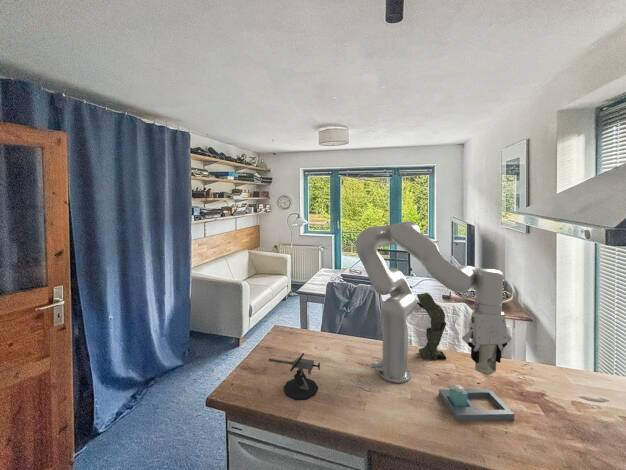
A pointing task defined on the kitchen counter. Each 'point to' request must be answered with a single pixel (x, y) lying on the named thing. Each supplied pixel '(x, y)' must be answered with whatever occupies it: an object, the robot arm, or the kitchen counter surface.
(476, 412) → the frame
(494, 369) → the box
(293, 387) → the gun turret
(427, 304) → the mechanical leg
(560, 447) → the kitchen counter surface
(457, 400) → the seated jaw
